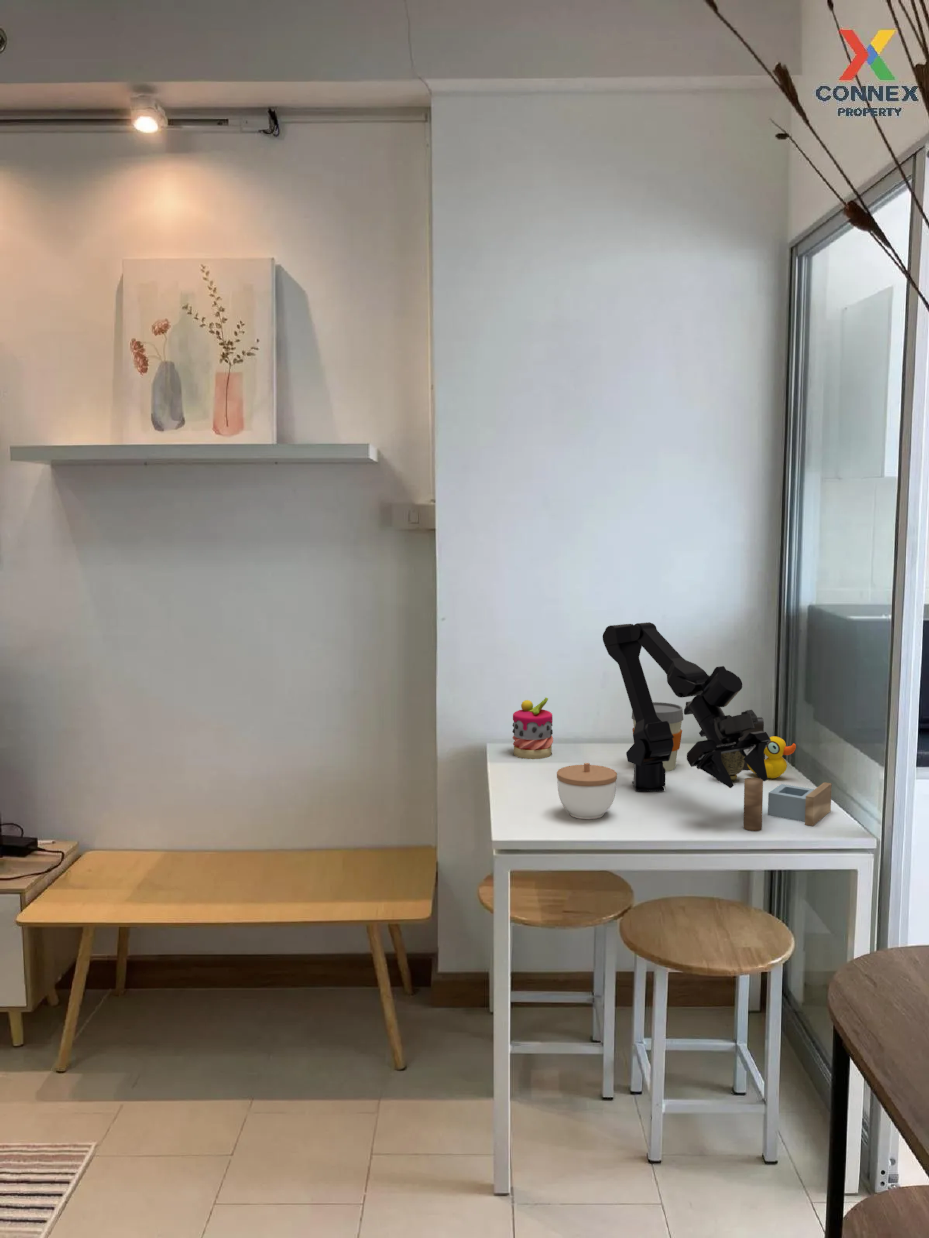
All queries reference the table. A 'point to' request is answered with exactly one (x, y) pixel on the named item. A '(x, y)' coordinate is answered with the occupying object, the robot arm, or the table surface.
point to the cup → (733, 763)
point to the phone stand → (758, 727)
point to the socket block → (788, 802)
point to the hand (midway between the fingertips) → (749, 783)
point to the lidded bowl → (586, 790)
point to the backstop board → (818, 804)
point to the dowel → (753, 804)
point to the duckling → (776, 757)
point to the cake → (532, 731)
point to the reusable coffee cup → (674, 719)
